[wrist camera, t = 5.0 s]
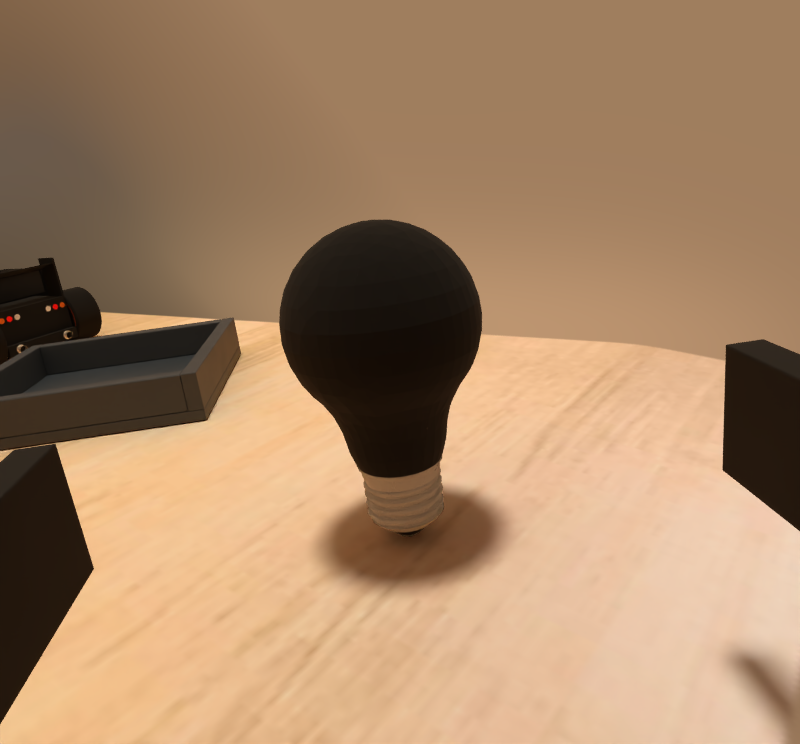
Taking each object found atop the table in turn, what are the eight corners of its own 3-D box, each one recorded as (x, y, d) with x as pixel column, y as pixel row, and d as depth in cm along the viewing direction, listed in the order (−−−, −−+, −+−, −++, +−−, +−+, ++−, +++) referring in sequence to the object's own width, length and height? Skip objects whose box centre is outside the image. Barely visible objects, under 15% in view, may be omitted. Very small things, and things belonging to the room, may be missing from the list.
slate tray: (241, 353, 46) (233, 317, 46) (206, 419, 34) (195, 372, 34) (42, 382, 46) (31, 345, 45) (-63, 459, 34) (-81, 411, 33)
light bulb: (509, 489, 24) (486, 200, 20) (486, 594, 18) (450, 224, 15) (353, 486, 25) (310, 218, 22) (290, 582, 20) (222, 246, 17)
